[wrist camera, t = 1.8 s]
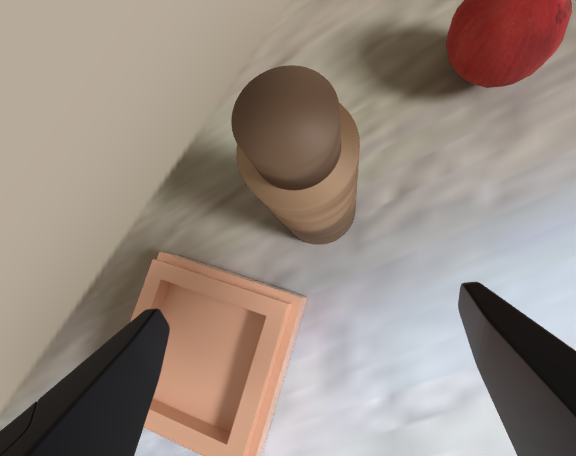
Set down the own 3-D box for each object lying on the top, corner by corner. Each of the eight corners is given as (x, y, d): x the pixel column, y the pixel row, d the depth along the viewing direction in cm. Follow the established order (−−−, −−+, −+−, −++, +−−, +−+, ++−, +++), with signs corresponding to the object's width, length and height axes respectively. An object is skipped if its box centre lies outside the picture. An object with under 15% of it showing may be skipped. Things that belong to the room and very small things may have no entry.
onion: (493, 22, 23) (565, -115, 15) (545, 83, 21) (654, -34, 14) (418, 64, 23) (450, -48, 16) (464, 127, 22) (525, 37, 14)
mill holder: (262, 452, 20) (243, 486, 17) (130, 392, 23) (89, 411, 19) (307, 297, 22) (299, 298, 18) (178, 255, 24) (148, 249, 20)
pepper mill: (344, 253, 22) (337, 204, 10) (274, 233, 23) (191, 168, 11) (363, 183, 22) (379, 57, 10) (295, 167, 24) (238, 38, 12)
